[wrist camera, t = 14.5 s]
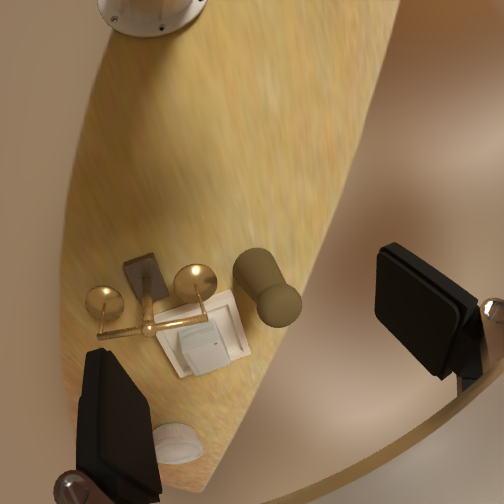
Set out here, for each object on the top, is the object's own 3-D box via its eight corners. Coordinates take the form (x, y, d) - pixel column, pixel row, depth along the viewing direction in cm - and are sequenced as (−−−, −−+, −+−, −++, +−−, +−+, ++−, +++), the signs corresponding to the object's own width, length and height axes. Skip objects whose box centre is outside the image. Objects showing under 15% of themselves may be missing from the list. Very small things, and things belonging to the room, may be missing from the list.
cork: (269, 286, 45) (301, 334, 36) (229, 286, 43) (254, 337, 33) (279, 248, 43) (316, 290, 33) (236, 246, 41) (265, 291, 31)
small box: (176, 329, 42) (180, 353, 38) (213, 316, 43) (221, 338, 39) (190, 355, 45) (195, 378, 41) (224, 342, 46) (233, 364, 42)
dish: (149, 316, 41) (150, 324, 39) (230, 289, 43) (233, 296, 41) (178, 370, 47) (180, 378, 45) (247, 346, 49) (251, 353, 47)
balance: (80, 278, 35) (63, 340, 25) (201, 235, 38) (223, 287, 28) (100, 313, 38) (92, 379, 28) (213, 275, 41) (238, 333, 31)
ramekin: (174, 450, 58) (178, 469, 53) (135, 435, 52) (137, 455, 47) (209, 430, 57) (215, 449, 53) (171, 413, 51) (175, 435, 47)
